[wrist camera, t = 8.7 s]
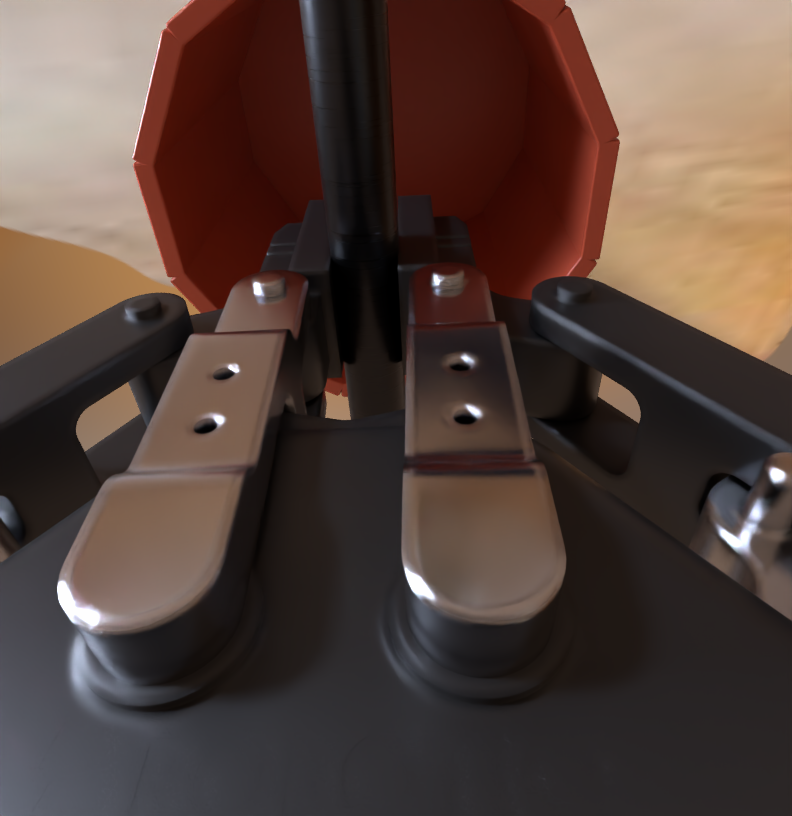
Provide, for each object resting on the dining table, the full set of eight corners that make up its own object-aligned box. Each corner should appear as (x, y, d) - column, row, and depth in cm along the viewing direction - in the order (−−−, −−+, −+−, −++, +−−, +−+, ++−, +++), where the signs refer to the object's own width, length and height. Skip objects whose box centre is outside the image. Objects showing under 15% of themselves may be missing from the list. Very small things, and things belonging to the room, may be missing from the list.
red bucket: (265, 268, 27) (158, 548, 15) (194, -92, 19) (-146, -105, 7) (523, 257, 26) (622, 536, 14) (556, -115, 18) (828, -168, 7)
